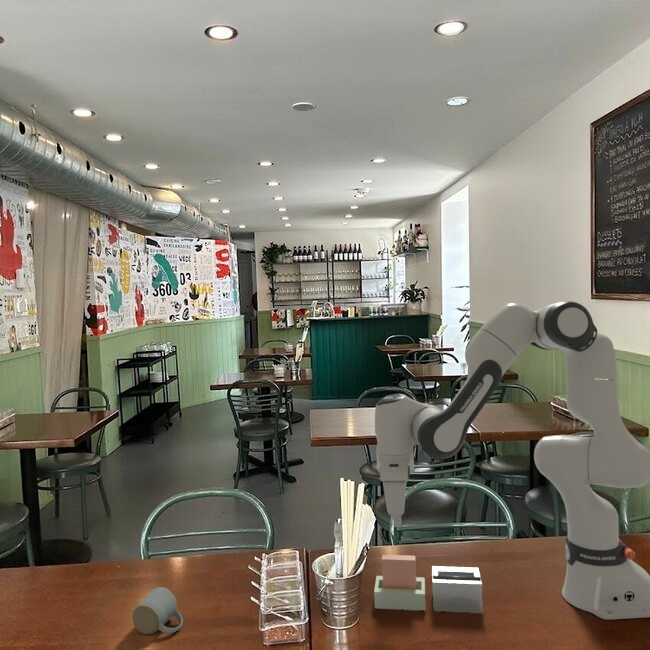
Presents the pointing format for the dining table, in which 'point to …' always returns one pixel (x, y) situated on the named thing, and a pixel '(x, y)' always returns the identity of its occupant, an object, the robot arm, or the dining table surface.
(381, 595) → the stand
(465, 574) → the dispenser
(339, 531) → the wineglass
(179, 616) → the ceramic mug
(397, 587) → the ticket
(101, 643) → the dining table surface
